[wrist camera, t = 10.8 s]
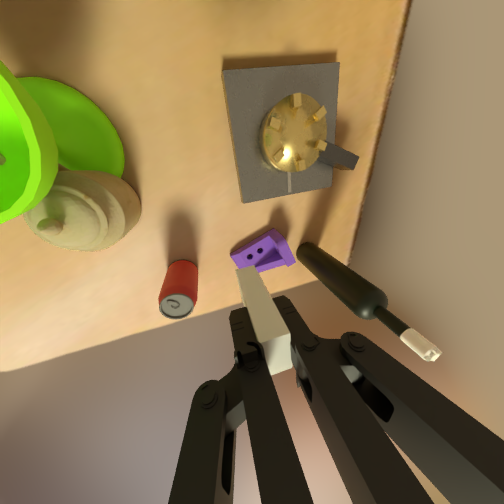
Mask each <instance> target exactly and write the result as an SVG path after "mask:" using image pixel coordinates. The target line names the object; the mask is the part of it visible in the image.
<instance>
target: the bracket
mask: <svg viewBox="0 0 504 504" xmlns="http://www.w3.org/2000/svg"><path fill="white" fill-rule="evenodd" d="M259 248H261V250H259V251H257V250H258V249H259ZM248 254H252V255H251V256H249V257H247V255H248ZM230 256H231V258H232V259H233V261H234V262H235V264H236V265H237V266H238V268H239V269H241V268H245V267H248V266H252V265H254V266H255V268H256V270H257V271H258V273H259V272H262V271H265V270H269V269H272V268H275V267H279V266H282V265H285V264H286V265H287V266H288V267H289V266H290V265H292V264H294V263H295V262H296V261H295V259H294V257H293V255H292V252H291V250H290V248H289V246H288V244H287V242H286V240H285V238H284V237H283V236H282V235H281V234H280V233H279V232H277V231H276V230H275V229H274V228H273V229H271V230H270V231H268V232H266V233H265V234H263V235H261V236H260V237H258V238H256V239H255V240H253V241H251V242H249V243H248V244H246V245H244V246H243V247H241V248H239V249H238V250H236V251H234V252H233V253H231V254H230Z"/></svg>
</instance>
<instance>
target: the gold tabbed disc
mask: <svg viewBox="0 0 504 504" xmlns="http://www.w3.org/2000/svg"><path fill="white" fill-rule="evenodd" d="M326 113H327V111H326V109H325V107H324V105H323V106H320V105H319V103H318V102H317V101H316V100H315V99H314V98H312V97H311V96H309V95H306V94H302V93H301V92H300V93H295V94H291V95H289V96H287V97H285V98H283V99H282V100H281V101H279V102H278V103H277V104H276V105H275V106H274V107H272V108H271V109H270V110H269V112H268V113H267V114H266V116H265V117H264V120H263V122H262V125H261V128H260V134H259V143H260V149H261V152H262V155H263V157H264V159H265V160H266V162H267V163H268V164H269V165H270V166H271V167H273V168H274V169H276V170H278V171H283V172H299V171H303V170H306V169H307V168H308V167H310V166H311V165H312V164H313V163H314V162H315V161H316V160H319V161H321V162H324V163H326V164H328V165H331V166H333V167H335V168H337V169H340V170H354V168H355V165H356V163H357V161H358V159H359V156H357V155H355V154H353V153H351V152H349V151H346V150H344V149H342V148H340V147H338V146H336V145H334V144H332V143H330V142H328V141H326V135H327V123H326V118H325V114H326Z"/></svg>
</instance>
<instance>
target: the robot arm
mask: <svg viewBox="0 0 504 504" xmlns="http://www.w3.org/2000/svg"><path fill="white" fill-rule="evenodd" d="M236 275H237V279H238V284H239V289H240V293H241V298H242V301H243V304H244V307H243V308H239V309H236V310H233V311H231V313H230V317H229V320H230V325H231V331H232V337H233V342H234V348H235V351H234V359H235V364H234V367H233V368H232V370H231V371H230V372H229V373H228V374H227V375H226V376H224V377H223V378H222V379H220V380H219V381H217V380H209V381H206V382H205V383H203V384H202V385H201V386H200V387H199V388H198V389H197V391H196V392H195V395H194V397H193V400H192V404H191V409H190V413H189V417H188V421H187V426H186V430H185V434H184V439H183V443H182V447H181V451H180V455H179V459H178V464H177V468H176V472H175V476H174V481H173V485H172V489H171V493H170V497H169V502H168V504H233V490H234V470H235V449H236V429H237V427H238V426H239V425H240V424H242V423H243V422H244V421H245V419H247V425H248V431H249V436H250V441H251V447H252V452H253V458H254V464H255V470H256V475H257V480H258V486H259V492H260V498H261V503H262V504H314V503H313V500H312V497H311V494H310V491H309V488H308V485H307V482H306V479H305V476H304V473H303V470H302V467H301V464H300V461H299V458H298V455H297V452H296V449H295V446H294V444H293V441H292V437H291V434H290V431H289V428H288V425H287V423H286V419H285V416H284V414H283V411H282V407H281V405H280V401H279V398H278V395H277V392H276V389H275V386H274V384H273V381H272V377H271V375H273V374H276V373H279V372H281V371H284V370H287V369H290V368H292V363H293V365H294V367H295V370H296V382H297V386H298V387H300V386H301V389H302V391H303V393H304V395H305V397H306V399H307V402H308V404H309V406H310V409H311V411H312V413H313V415H314V417H315V420H316V422H317V424H318V427H319V429H320V431H321V433H322V435H323V437H324V440H325V442H326V444H327V446H328V449H329V451H330V453H331V455H332V458H333V460H334V462H335V465H336V467H337V469H338V471H339V473H340V476H341V478H342V480H343V482H344V484H345V487H346V489H347V491H348V494H349V495H350V498H351V500H352V502H353V504H434V503H433V501H432V500H431V498H430V497H429V495H428V494H427V492H426V491H425V490H424V488H423V487H422V485H421V484H420V482H419V481H418V479H417V478H416V476H415V475H414V473H413V472H412V471H411V469H410V468H409V466H408V465H407V463H406V462H405V460H404V459H403V458H402V456H401V455H400V453H399V452H398V450H397V449H396V447H395V446H394V444H393V443H392V442H391V440H390V439H389V437H390V438H391V439H392V440H393V441H394V442H395V443H396V444H397V445H398V446H399V448H400V449H401V450H402V451H403V452H404V453H405V454H406V455H407V456H408V457H409V458H410V460H411V461H412V462H413V463H414V464H415V465H416V466H417V467H418V468H419V469H420V470H421V471H422V473H423V474H424V475H425V476H426V477H427V478H428V479H429V480H430V481H431V482H432V484H433V485H434V486H435V487H436V488H437V489H438V490H439V491H440V492H441V493H442V494H443V496H444V497H445V498H446V499H447V500H448V501H449V502H450V503H451V504H504V441H503V440H502V439H501V438H499V437H498V436H497V435H496V434H494V433H493V432H491V431H490V430H489V429H488V428H486V427H485V426H484V425H482V424H481V423H480V422H478V421H477V420H476V419H474V418H473V417H472V416H470V415H469V414H467V413H466V412H465V411H464V410H462V409H461V408H460V407H458V406H457V405H456V404H454V403H453V402H452V401H450V400H449V399H447V398H446V397H445V396H444V395H442V394H441V393H440V392H438V391H437V390H436V389H434V388H433V387H432V386H430V385H429V384H428V383H426V382H425V381H424V380H422V379H421V378H420V377H418V376H417V375H416V374H414V373H413V372H411V371H410V370H409V369H408V368H406V367H405V366H404V365H402V364H401V363H400V362H398V361H397V360H396V359H394V358H393V357H392V356H390V355H389V354H388V353H386V352H385V351H384V350H382V349H381V348H380V347H378V346H377V345H376V344H374V343H373V342H372V341H370V340H369V339H367V338H366V337H365V336H363V335H361V334H359V333H356V332H346V333H344V334H343V335H342V336H341V339H324V338H320V337H318V336H317V335H315V334H313V333H312V332H311V331H310V330H309V328H308V326H307V325H306V324H305V322H304V320H303V319H302V318H301V316H300V314H299V313H298V312H297V310H296V309H295V307H294V305H293V304H292V302H291V301H290V299H288V298H287V297H285V296H279V297H276V298H271V296H270V294H269V292H268V290H267V288H266V286H265V285H264V283H263V281H262V279H261V277H260V275H259V273H258V271H257V270H256V268H255V266H254V265H252V266H248V267H245V268H241V269H237V270H236ZM385 432H386V433H387V434H388V435H389V437H388V436H387V434H386V433H385Z"/></svg>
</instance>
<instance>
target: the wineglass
mask: <svg viewBox="0 0 504 504" xmlns="http://www.w3.org/2000/svg"><path fill="white" fill-rule="evenodd" d="M0 153H1V154H2V155H3V156H4V157H5V158H6V162H5V163H4V164H3V165H0V224H2V223H4V222H6V221H8V220H10V219H12V218H15V217H17V216H19V215H21V214H23V213H25V212H27V211H29V210H31V209H33V208H35V206H36V205H37V204H38V203H39V202H40V201H41V200H42V199H43V198H44V197H45V196H46V195H47V194H48V192H49V191H50V189H51V187H52V185H53V183H54V180H55V177H56V175H57V172H58V163H59V164H61V165H63V166H64V167H66V168H68V169H70V170H96V171H103V172H107V173H110V174H113V175H115V176H117V177H119V178H121V176H122V174H123V170H124V162H125V158H124V152H123V146H122V143H121V141H120V138H119V136H118V134H117V131H116V129H115V128H114V126H113V125H112V123H111V122H110V120H109V119H108V118H107V116H106V115H105V114H104V113H103V112H102V111H101V110H100V109H99V108H98V107H97V106H96V105H95V104H94V103H93V102H92V101H91V100H90V99H88V98H87V97H85V96H84V95H83V94H81V93H80V92H78V91H77V90H75V89H74V88H71V87H69V86H67V85H65V84H62V83H60V82H58V81H56V80H51V79H45V78H40V77H22V78H15V76H14V75H13V74H12V73H11V72H10V71H9V69H8V68H7V67H6V66H5V65H4V64H3V63H2V62H1V61H0Z"/></svg>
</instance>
